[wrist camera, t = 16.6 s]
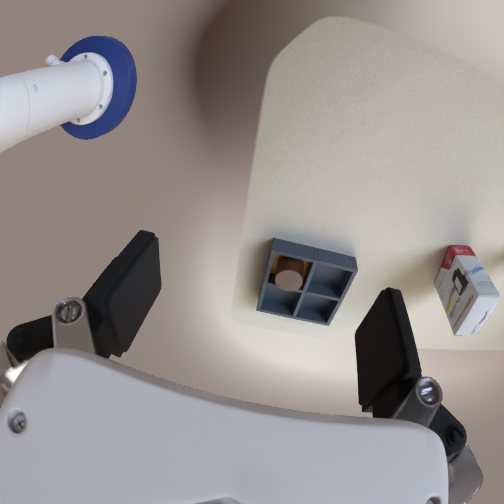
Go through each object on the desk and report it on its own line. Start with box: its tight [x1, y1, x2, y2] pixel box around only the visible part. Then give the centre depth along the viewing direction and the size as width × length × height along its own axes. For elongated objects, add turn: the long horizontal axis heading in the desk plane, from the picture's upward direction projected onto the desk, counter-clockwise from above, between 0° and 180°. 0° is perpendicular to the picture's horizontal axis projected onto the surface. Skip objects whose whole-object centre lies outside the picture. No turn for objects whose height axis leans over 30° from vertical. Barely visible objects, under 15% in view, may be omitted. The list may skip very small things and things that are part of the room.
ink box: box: [434, 245, 499, 336], centre depth 33 cm, size 9×5×12 cm, turn 2°
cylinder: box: [275, 256, 304, 291], centre depth 40 cm, size 4×4×4 cm
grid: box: [256, 238, 358, 326], centre depth 43 cm, size 13×13×3 cm
